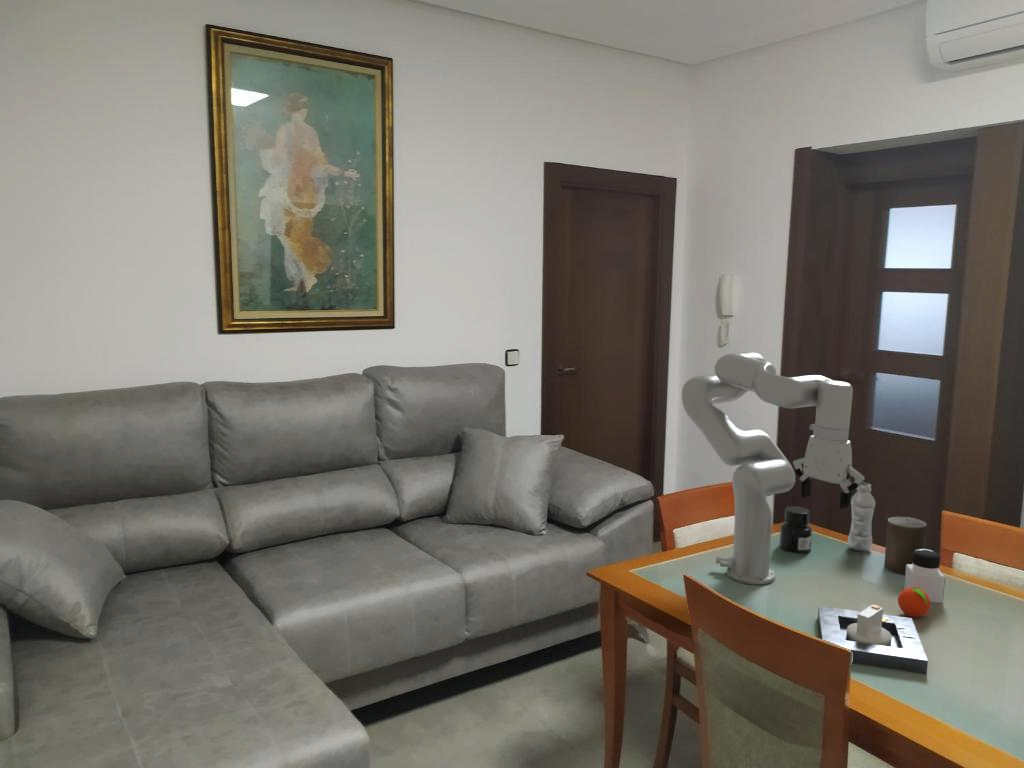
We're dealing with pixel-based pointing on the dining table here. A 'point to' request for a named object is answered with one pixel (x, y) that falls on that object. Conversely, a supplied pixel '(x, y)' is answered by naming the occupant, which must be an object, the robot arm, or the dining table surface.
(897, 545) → the pillar candle
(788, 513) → the ink bottle
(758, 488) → the robot arm
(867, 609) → the dial knob
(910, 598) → the clementine
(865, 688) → the dining table surface
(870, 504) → the plastic bottle
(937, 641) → the dining table surface
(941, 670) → the dining table surface
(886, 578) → the dining table surface
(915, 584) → the medicine bottle
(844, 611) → the dial plate
